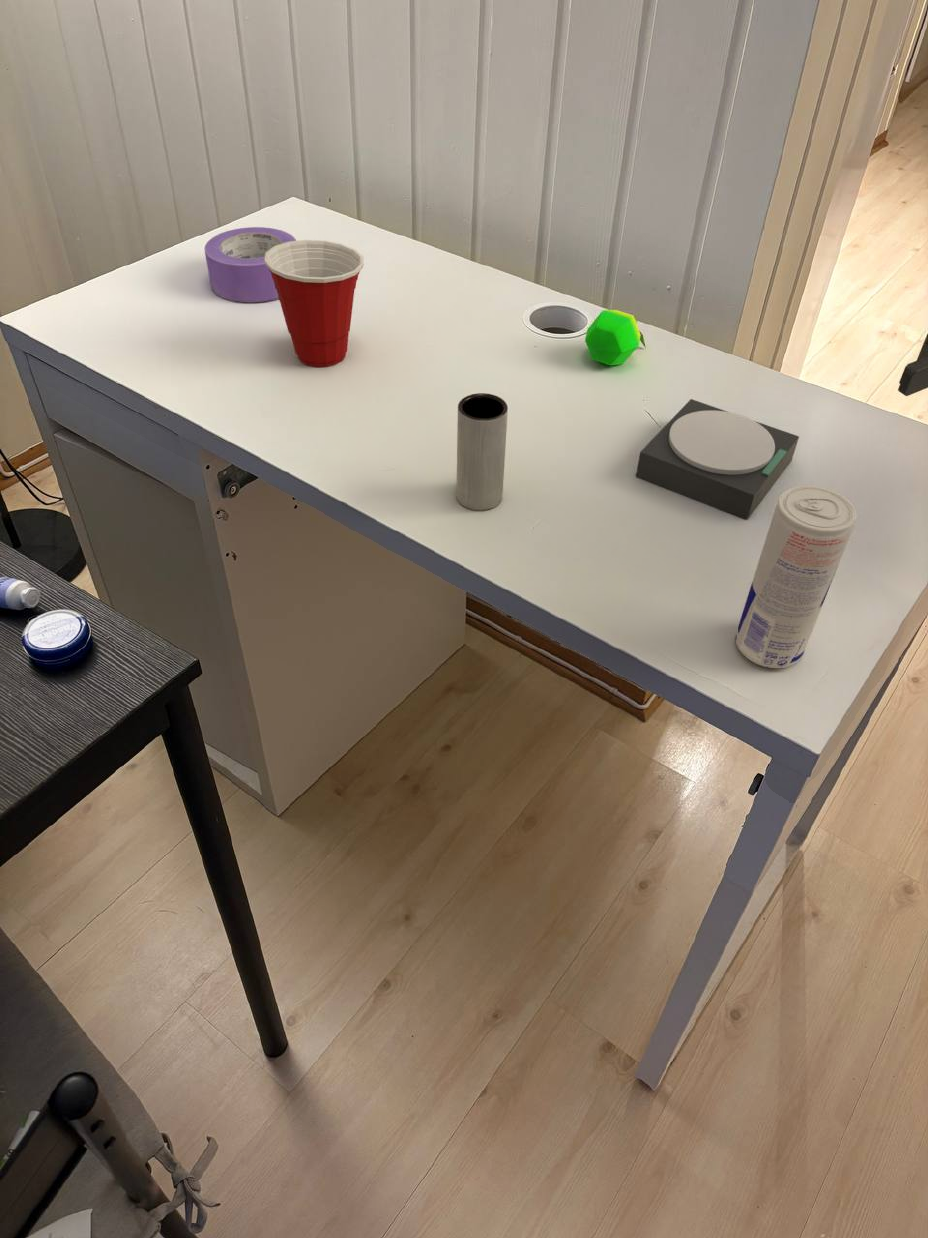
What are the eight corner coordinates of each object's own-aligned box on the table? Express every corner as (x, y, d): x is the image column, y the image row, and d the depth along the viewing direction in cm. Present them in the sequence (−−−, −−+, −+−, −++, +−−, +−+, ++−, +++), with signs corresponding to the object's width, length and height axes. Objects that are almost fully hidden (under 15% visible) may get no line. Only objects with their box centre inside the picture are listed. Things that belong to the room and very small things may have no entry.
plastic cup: (387, 358, 112) (383, 259, 103) (310, 388, 107) (299, 286, 98) (335, 322, 118) (327, 225, 109) (259, 350, 113) (245, 250, 104)
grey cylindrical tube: (502, 511, 92) (508, 420, 85) (455, 510, 92) (457, 419, 85) (502, 483, 95) (507, 393, 88) (456, 482, 95) (458, 391, 88)
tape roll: (210, 265, 128) (204, 228, 125) (298, 259, 130) (294, 223, 126) (210, 306, 120) (203, 268, 117) (304, 300, 122) (300, 262, 118)
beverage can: (816, 661, 79) (874, 520, 68) (758, 680, 77) (809, 537, 67) (776, 617, 82) (826, 476, 72) (721, 633, 81) (763, 491, 70)
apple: (606, 313, 105) (641, 281, 111) (564, 335, 110) (600, 303, 115) (637, 368, 107) (670, 335, 113) (595, 388, 112) (629, 355, 118)
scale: (791, 460, 99) (801, 431, 96) (747, 520, 92) (755, 490, 89) (685, 422, 104) (692, 393, 101) (635, 476, 97) (640, 446, 94)
